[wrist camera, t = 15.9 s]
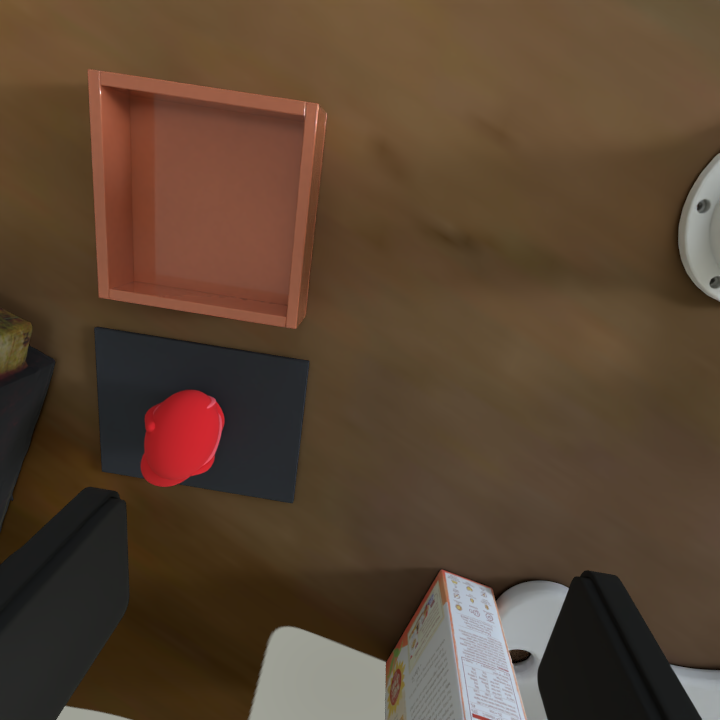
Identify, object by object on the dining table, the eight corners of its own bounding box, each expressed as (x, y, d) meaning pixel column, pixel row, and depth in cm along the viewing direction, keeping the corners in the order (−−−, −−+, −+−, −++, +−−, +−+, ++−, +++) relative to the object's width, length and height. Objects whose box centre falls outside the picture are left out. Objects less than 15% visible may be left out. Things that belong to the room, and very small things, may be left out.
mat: (309, 360, 38) (308, 362, 38) (293, 500, 43) (292, 503, 43) (96, 326, 39) (94, 327, 38) (104, 469, 43) (101, 471, 43)
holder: (516, 564, 44) (530, 608, 39) (831, 681, 46) (882, 736, 41) (432, 692, 50) (436, 743, 45) (712, 790, 52) (744, 848, 47)
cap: (169, 368, 39) (131, 397, 33) (237, 389, 39) (211, 422, 34) (155, 447, 42) (118, 487, 36) (219, 467, 42) (192, 509, 36)
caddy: (327, 113, 32) (318, 103, 29) (305, 316, 37) (296, 329, 33) (121, 82, 32) (86, 68, 29) (127, 287, 37) (98, 297, 34)
